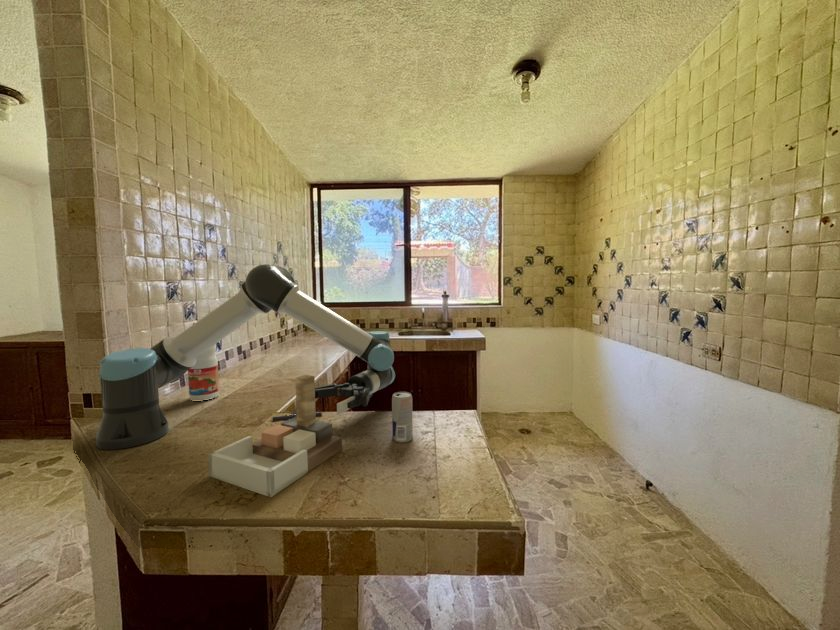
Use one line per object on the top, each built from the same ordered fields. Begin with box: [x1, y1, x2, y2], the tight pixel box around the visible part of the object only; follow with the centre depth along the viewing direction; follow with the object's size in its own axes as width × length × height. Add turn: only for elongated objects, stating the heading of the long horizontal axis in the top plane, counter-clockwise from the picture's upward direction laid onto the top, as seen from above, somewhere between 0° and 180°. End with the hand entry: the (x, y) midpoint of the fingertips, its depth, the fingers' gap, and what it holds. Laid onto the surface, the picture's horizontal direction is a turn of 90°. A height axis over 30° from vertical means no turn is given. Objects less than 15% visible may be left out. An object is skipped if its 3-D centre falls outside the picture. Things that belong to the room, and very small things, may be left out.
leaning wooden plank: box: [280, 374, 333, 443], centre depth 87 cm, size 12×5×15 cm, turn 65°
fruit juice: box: [187, 322, 220, 401], centre depth 127 cm, size 9×9×28 cm
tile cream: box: [283, 429, 316, 453], centre depth 81 cm, size 5×5×3 cm
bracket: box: [272, 409, 323, 422], centre depth 114 cm, size 14×15×3 cm
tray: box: [208, 435, 309, 498], centre depth 74 cm, size 18×10×5 cm, turn 65°
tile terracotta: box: [261, 424, 293, 448], centre depth 83 cm, size 5×5×3 cm
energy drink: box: [391, 391, 414, 444], centre depth 92 cm, size 5×5×12 cm
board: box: [252, 434, 343, 473], centre depth 84 cm, size 18×12×3 cm, turn 65°
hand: (316, 405), depth 90 cm, fingers open, 13 cm apart
